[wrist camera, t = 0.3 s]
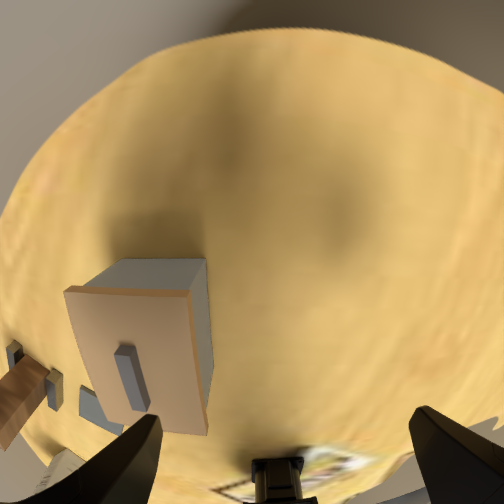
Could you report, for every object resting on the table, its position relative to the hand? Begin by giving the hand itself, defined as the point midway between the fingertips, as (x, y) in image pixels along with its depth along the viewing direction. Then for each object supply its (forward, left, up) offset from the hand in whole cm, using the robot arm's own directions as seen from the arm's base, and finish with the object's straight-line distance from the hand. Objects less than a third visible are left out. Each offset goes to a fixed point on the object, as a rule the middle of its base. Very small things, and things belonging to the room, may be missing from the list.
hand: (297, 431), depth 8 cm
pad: (-17, +19, -14) cm, 30 cm away
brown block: (-13, +28, -14) cm, 34 cm away
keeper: (-13, +28, -14) cm, 34 cm away
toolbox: (-3, +8, -14) cm, 17 cm away
